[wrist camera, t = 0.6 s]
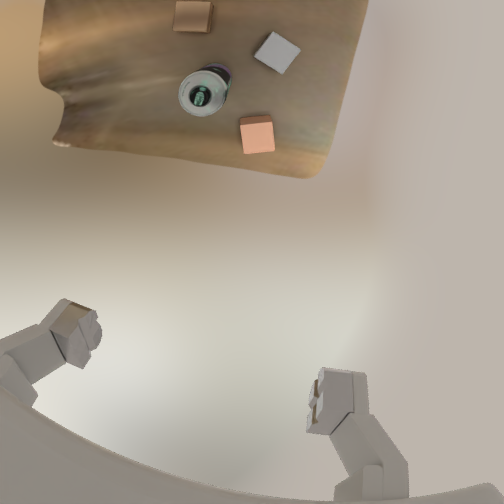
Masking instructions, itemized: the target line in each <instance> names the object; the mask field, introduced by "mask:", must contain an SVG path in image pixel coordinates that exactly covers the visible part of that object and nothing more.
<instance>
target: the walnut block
mask: <svg viewBox="0 0 504 504" xmlns="http://www.w3.org/2000/svg"><path fill="white" fill-rule="evenodd" d="M213 8H214V6H213V4H212V3H211V2H198V1H177V2H176V9H175V16H174V23H173V30H172V31H176V32H197V33H210V27H211V20H212V14H213Z"/></svg>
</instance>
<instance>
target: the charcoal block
mask: <svg viewBox="0 0 504 504" xmlns="http://www.w3.org/2000/svg"><path fill="white" fill-rule="evenodd" d="M300 51H301V49H299V48H298V47H296V46H295V45H293V44H292V43H290V42H289V41H287V40H286V39H284V38H283V37H281V36H279V35H278V34H276V33H275V32H271V33H270V34H269V35H268V37H267V38H266V39H265V41H264V42H263V43H262V44H261V46H260V47H259V48H258V50H257V51H256V52H255V54H254V55H253V56H254V57H255V58H257V59H258V60H260V61H262V62H263V63H265V64H267V65H268V66H270V67H271V68H273V69H274V70H276V71H278V72H279V73H281V74H283V73H284V71H285V70H286V69H287V67H288V66H289V65H290V64H291V62H292V61H293V60H294V58H295V57H296V56H297V55H298V53H299V52H300Z"/></svg>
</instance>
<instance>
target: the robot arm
mask: <svg viewBox="0 0 504 504" xmlns="http://www.w3.org/2000/svg"><path fill="white" fill-rule="evenodd" d="M97 318H98V316H97V313H96V311H94V310H92V309H90V308H87V307H84V306H82V305H79V304H77V303H74V302H72V301H70V300H67V299H61V300H60V301H59V302H58V303H57V304H56V305H55V306H54V308H53V309H52V310H51V311H50V312H49V313H48V315H47V316H46V317H45V318H44V319H43V320H42V322H41V323H40V324H39V325H37V324H35V325H33V326H30V327H28V328H26V329H23V330H21V331H19V332H16V333H14V334H12V335H9V336H7V337H5V338H3V339H1V340H0V504H504V497H503V495H502V494H501V493H500V492H499V490H498V489H497V488H496V487H495V486H494V485H493V484H491V483H483V484H479V485H475V486H471V487H467V488H463V489H459V490H454V491H449V492H444V493H439V494H433V495H427V496H420V497H412V498H409V478H408V463H407V461H406V460H405V459H404V457H403V456H402V454H401V453H400V451H399V450H398V449H397V447H396V446H395V444H394V443H393V442H392V440H391V439H390V437H389V436H388V435H387V433H386V432H385V430H384V429H383V428H382V426H381V425H380V424H379V422H378V421H377V419H376V418H375V416H374V415H371V414H369V402H368V389H367V388H368V387H367V376H366V374H365V373H362V372H353V371H348V370H340V369H332V368H325V367H322V368H321V369H320V371H319V374H318V379H317V380H315V381H314V383H313V385H312V389H311V392H310V397H309V406H310V408H311V411H310V413H309V415H308V417H307V429H306V432H307V433H313V434H321V435H329V436H330V439H331V441H332V443H333V445H334V447H335V449H336V451H337V453H338V455H339V457H340V459H341V461H342V463H343V465H344V466H345V469H346V471H347V472H348V474H349V476H350V477H348V478H347V479H346V480H344V481H342V482H341V483H339V484H338V485H336V486H335V492H334V501H312V500H298V499H288V498H279V497H271V496H264V495H257V494H252V493H246V492H240V491H235V490H230V489H226V488H221V487H217V486H213V485H208V484H205V483H201V482H197V481H193V480H190V479H186V478H183V477H179V476H176V475H173V474H170V473H167V472H164V471H161V470H158V469H155V468H152V467H150V466H147V465H144V464H141V463H139V462H136V461H134V460H131V459H129V458H127V457H124V456H122V455H119V454H117V453H115V452H112V451H110V450H108V449H106V448H104V447H101V446H99V445H97V444H95V443H93V442H91V441H89V440H87V439H85V438H83V437H81V436H79V435H77V434H76V433H74V432H72V431H70V430H68V429H66V428H65V427H63V426H61V425H59V424H58V423H56V422H54V421H52V420H51V419H49V418H48V417H46V416H44V415H43V414H41V413H39V412H38V411H36V410H35V409H33V408H32V405H33V403H34V402H35V400H36V398H37V397H38V394H37V392H36V391H35V389H34V388H33V386H32V384H34V383H35V382H37V381H38V380H40V379H41V378H43V377H45V376H46V375H48V374H49V373H51V372H53V371H54V370H56V369H57V368H59V367H60V366H62V365H64V364H65V363H66V362H67V363H70V364H72V365H74V366H77V367H79V368H81V369H83V368H84V367H85V365H86V364H87V362H88V361H89V359H90V357H91V352H90V351H92V350H94V349H96V348H97V346H98V345H99V343H100V341H101V337H102V329H101V326H100V324H99V323H98V322H97V321H96V320H97Z"/></svg>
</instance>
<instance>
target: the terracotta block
mask: <svg viewBox="0 0 504 504" xmlns="http://www.w3.org/2000/svg"><path fill="white" fill-rule="evenodd" d="M240 128H241V135H242V142H243V150H244V154H250V153H259V152H268V151H275V146H274V135H273V125H272V120H271V117H270V115H264V116H254V117H245V118H240Z"/></svg>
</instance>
